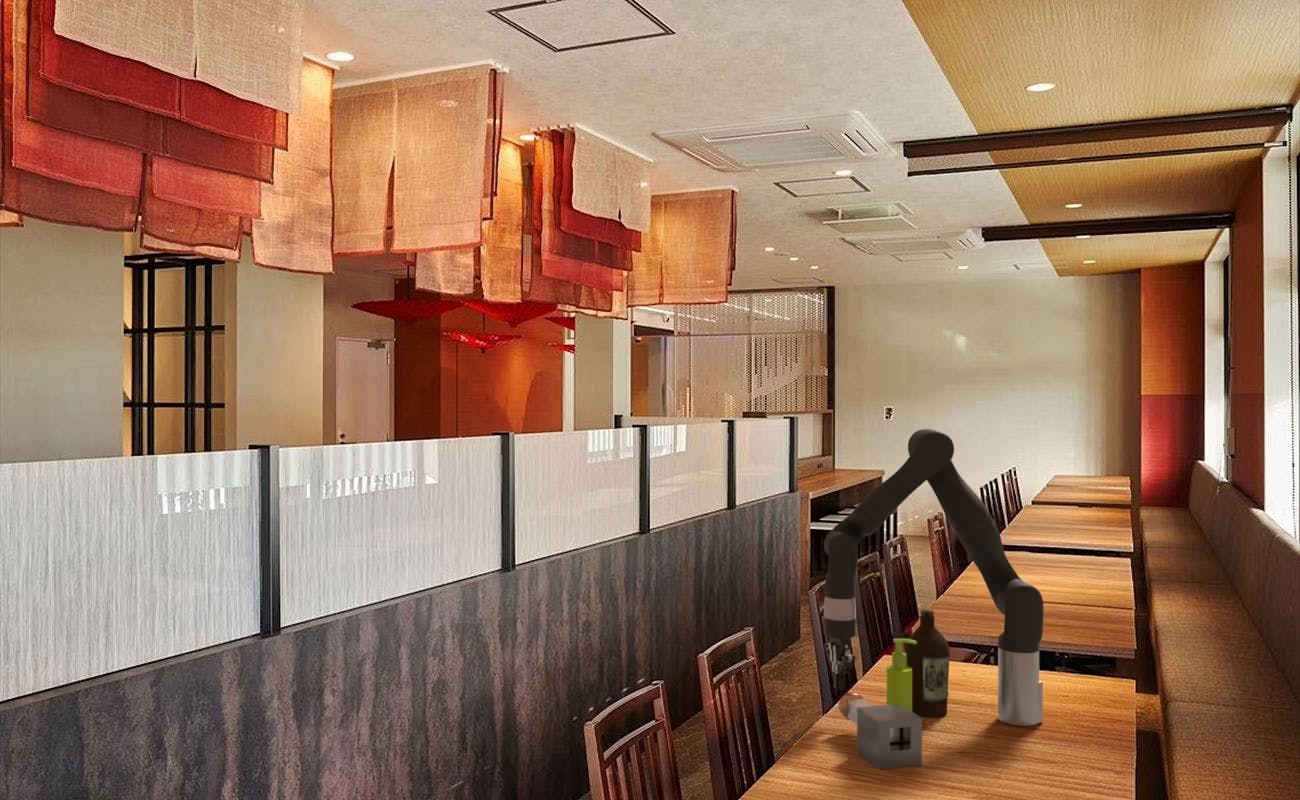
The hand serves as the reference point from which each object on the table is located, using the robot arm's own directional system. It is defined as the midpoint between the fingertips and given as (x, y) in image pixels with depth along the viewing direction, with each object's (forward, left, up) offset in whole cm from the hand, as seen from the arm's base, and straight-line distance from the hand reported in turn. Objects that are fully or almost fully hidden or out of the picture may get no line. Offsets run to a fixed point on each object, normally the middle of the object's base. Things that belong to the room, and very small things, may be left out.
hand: (839, 688), depth 247 cm
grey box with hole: (0, +25, -8) cm, 26 cm away
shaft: (0, +16, -5) cm, 17 cm away
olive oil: (-24, -2, -8) cm, 26 cm away
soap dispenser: (-14, +4, -8) cm, 17 cm away
